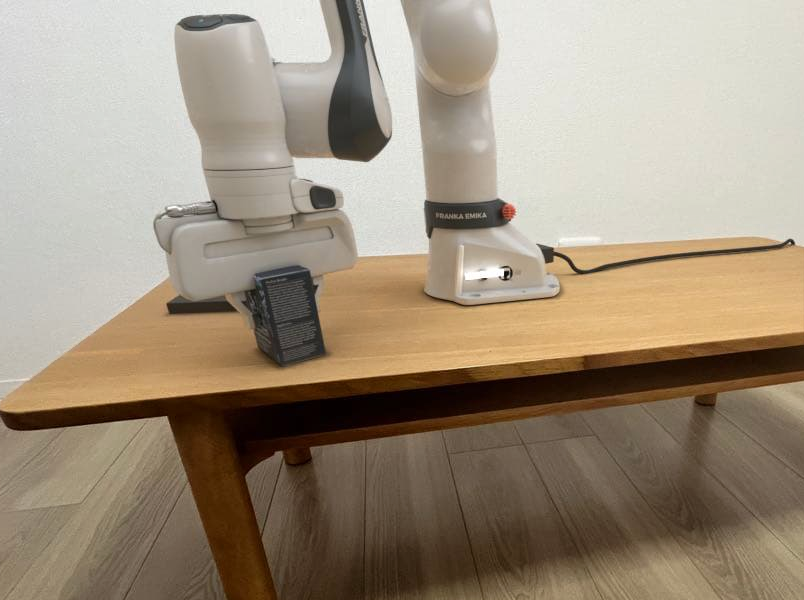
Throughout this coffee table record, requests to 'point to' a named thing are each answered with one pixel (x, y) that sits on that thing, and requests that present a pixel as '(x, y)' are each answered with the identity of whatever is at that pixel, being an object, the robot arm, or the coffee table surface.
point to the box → (286, 315)
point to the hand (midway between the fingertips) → (284, 319)
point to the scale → (200, 305)
